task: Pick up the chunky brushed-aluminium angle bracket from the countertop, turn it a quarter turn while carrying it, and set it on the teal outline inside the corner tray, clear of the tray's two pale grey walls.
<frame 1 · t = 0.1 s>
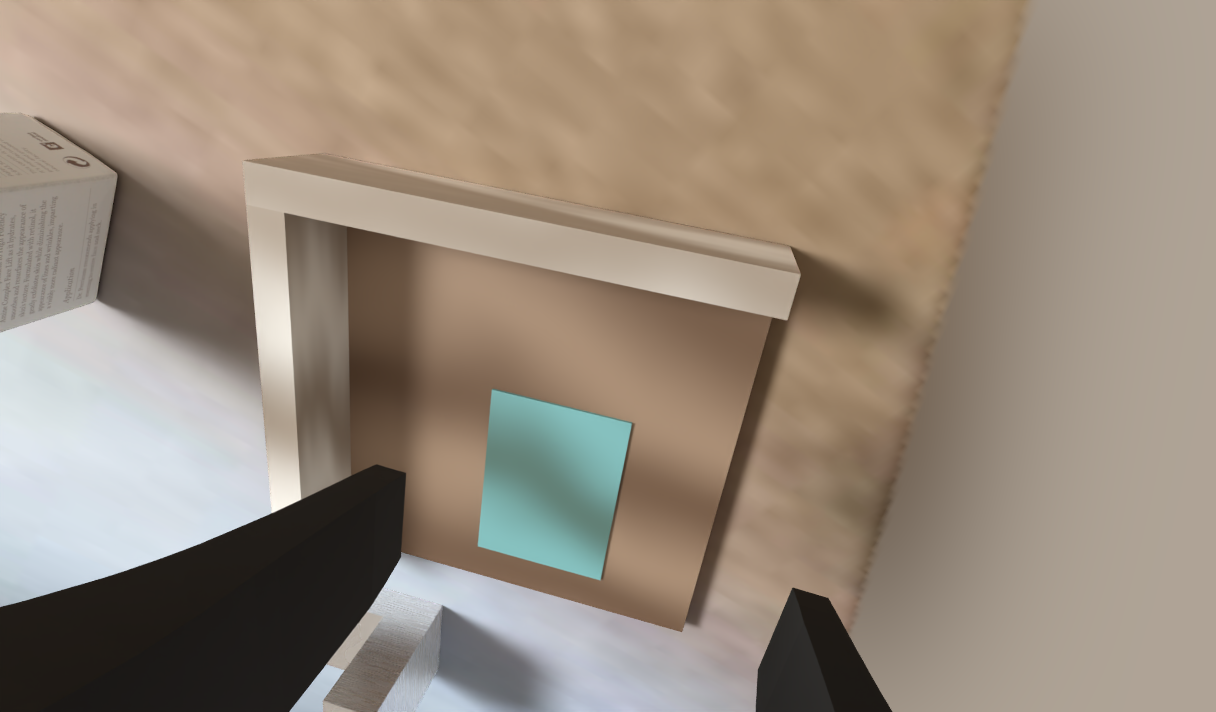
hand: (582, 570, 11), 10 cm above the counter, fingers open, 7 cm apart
corner arena: (534, 427, 22), on the counter
skincare box: (73, 216, 23), on the counter
aluminium bracket: (380, 617, 27), on the counter
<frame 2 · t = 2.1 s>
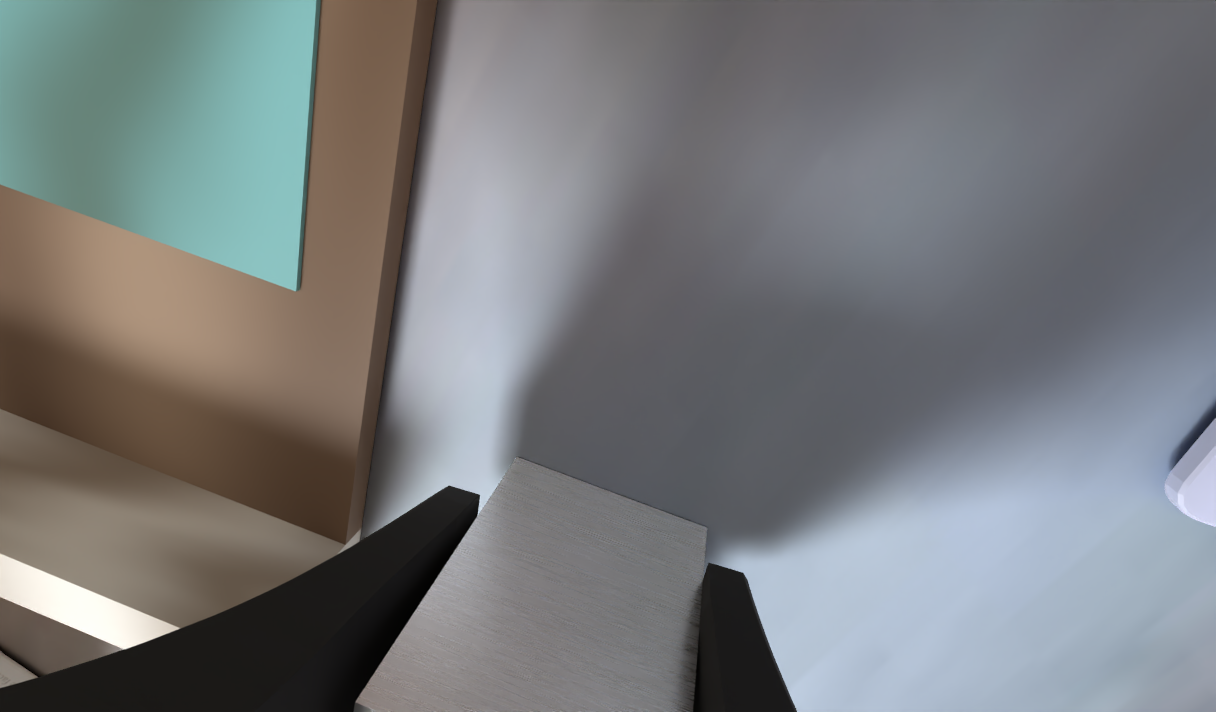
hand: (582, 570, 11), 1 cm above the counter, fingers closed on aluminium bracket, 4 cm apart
corner arena: (60, 111, 11), on the counter
skincare box: (17, 680, 19), on the counter
aluminium bracket: (572, 598, 13), on the counter, touching gripper
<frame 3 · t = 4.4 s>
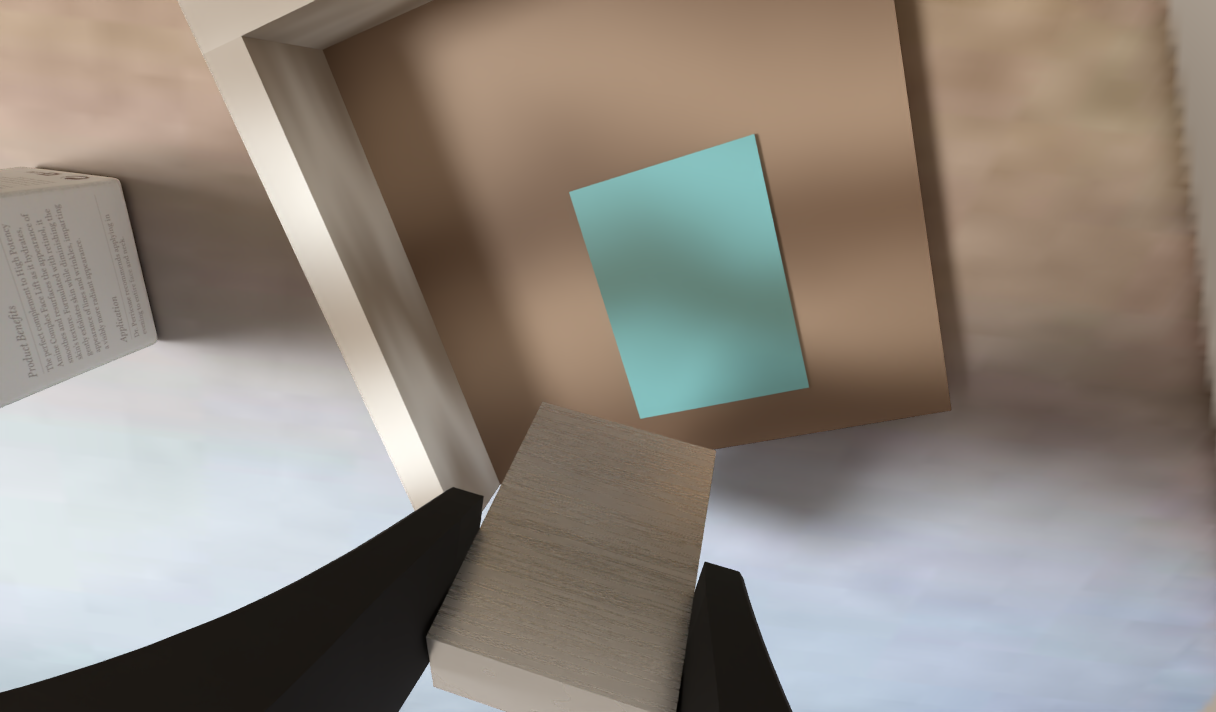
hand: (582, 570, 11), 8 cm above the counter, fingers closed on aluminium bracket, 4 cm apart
corner arena: (640, 226, 17), on the counter
skincare box: (107, 260, 21), on the counter
aluminium bracket: (610, 504, 15), point 4 cm above the counter, tilted 17°, touching gripper
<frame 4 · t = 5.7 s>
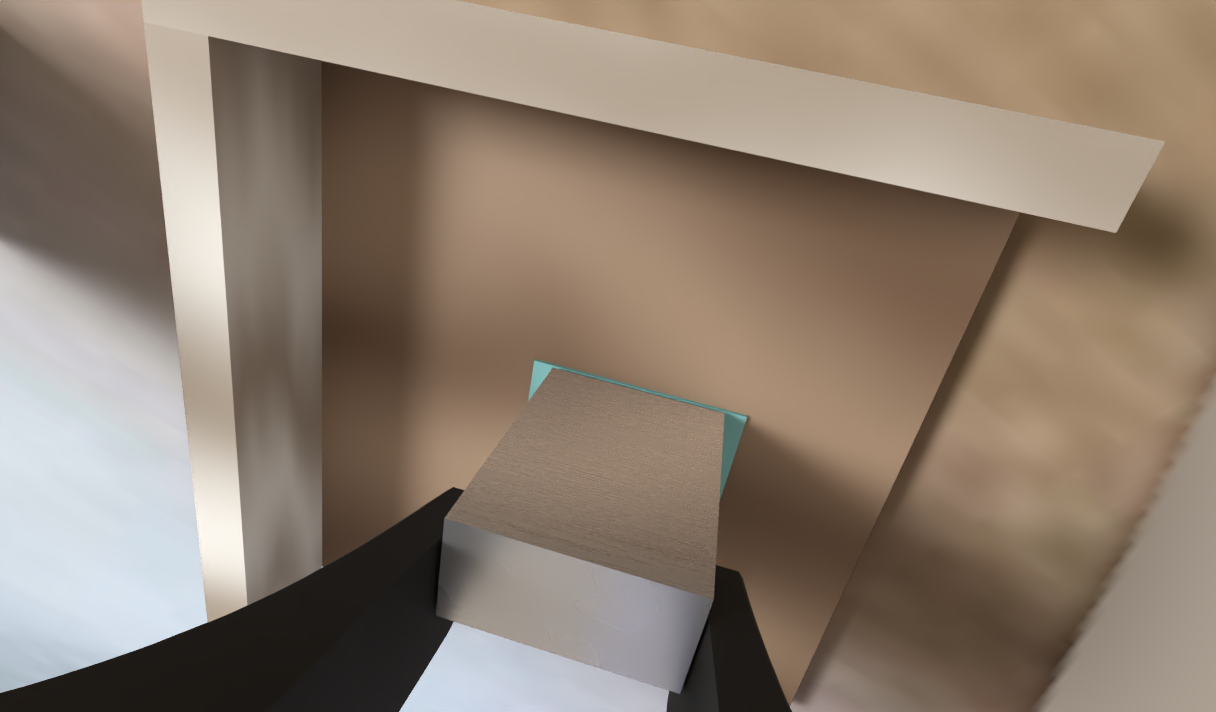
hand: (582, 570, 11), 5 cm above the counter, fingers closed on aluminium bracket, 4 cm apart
corner arena: (591, 419, 15), on the counter
aluminium bracket: (612, 495, 15), point 1 cm above the counter, touching corner arena, gripper
when the fingers open (3 cm above the counter, at t = 6.5 s): aluminium bracket stays where it is, resting on corner arena.
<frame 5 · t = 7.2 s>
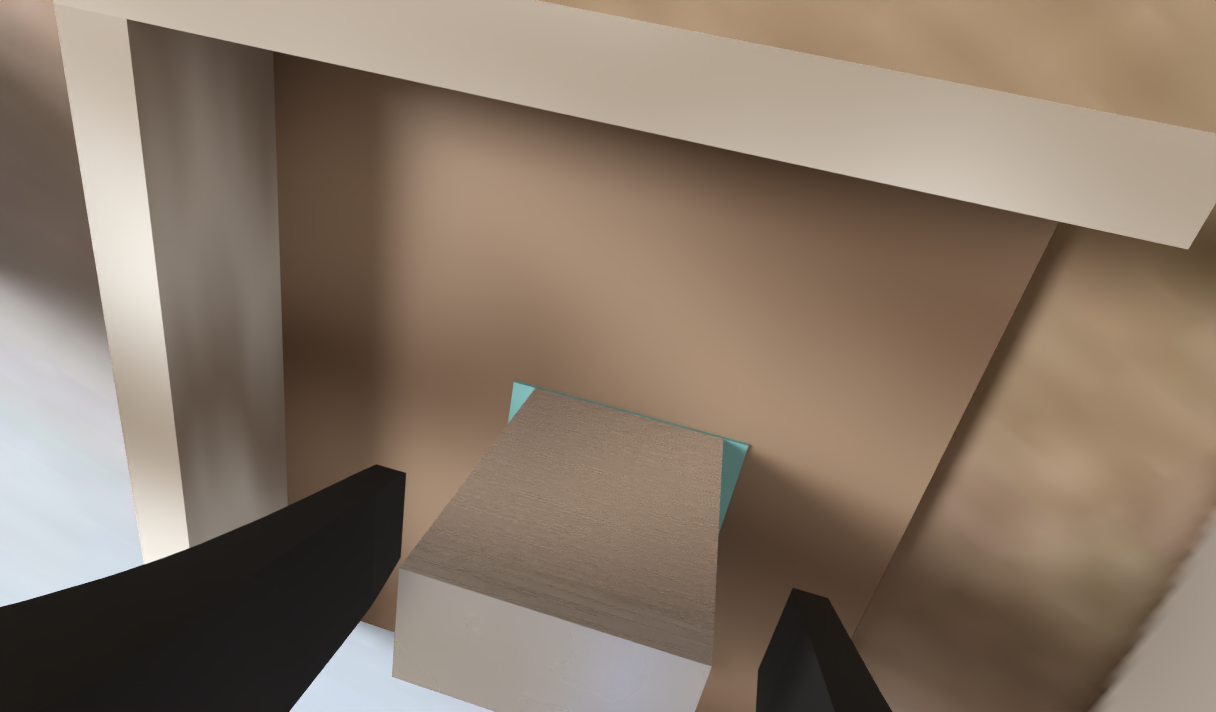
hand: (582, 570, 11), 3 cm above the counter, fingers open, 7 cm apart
corner arena: (578, 444, 14), on the counter
aluminium bracket: (600, 526, 13), point 1 cm above the counter, touching corner arena
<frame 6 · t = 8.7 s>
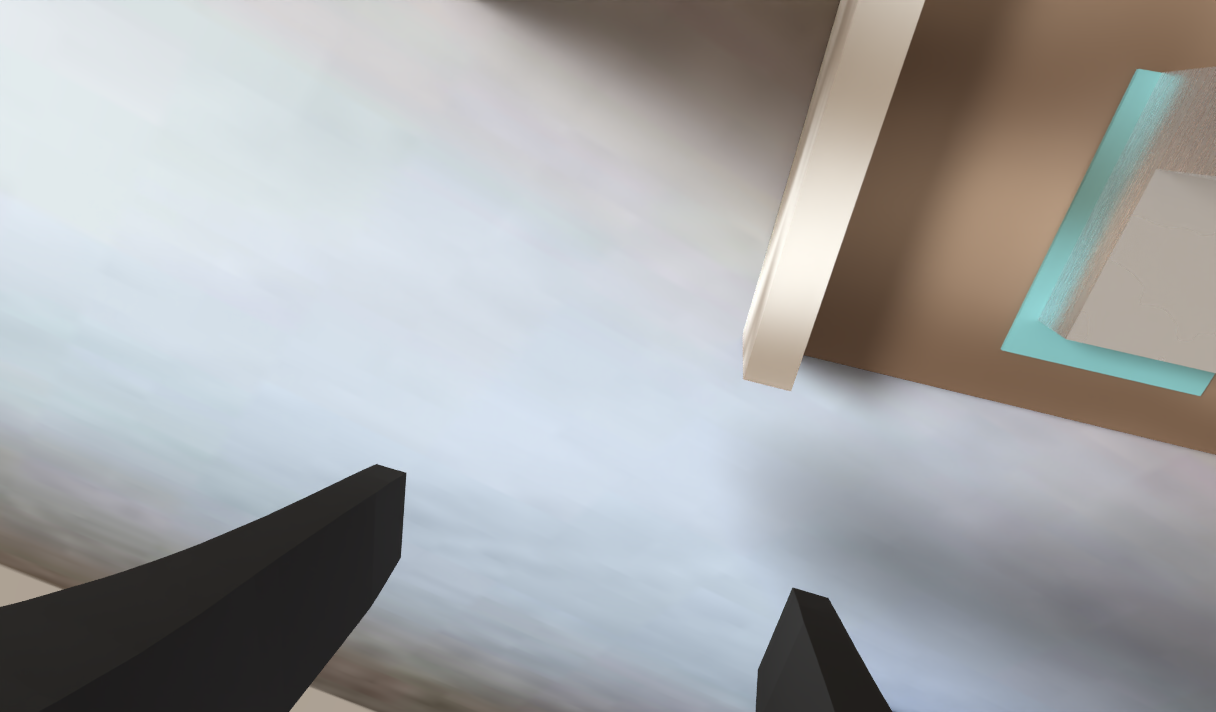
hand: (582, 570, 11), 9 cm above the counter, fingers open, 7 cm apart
corner arena: (1154, 150, 14), on the counter
aluminium bracket: (1183, 224, 14), point 1 cm above the counter, touching corner arena
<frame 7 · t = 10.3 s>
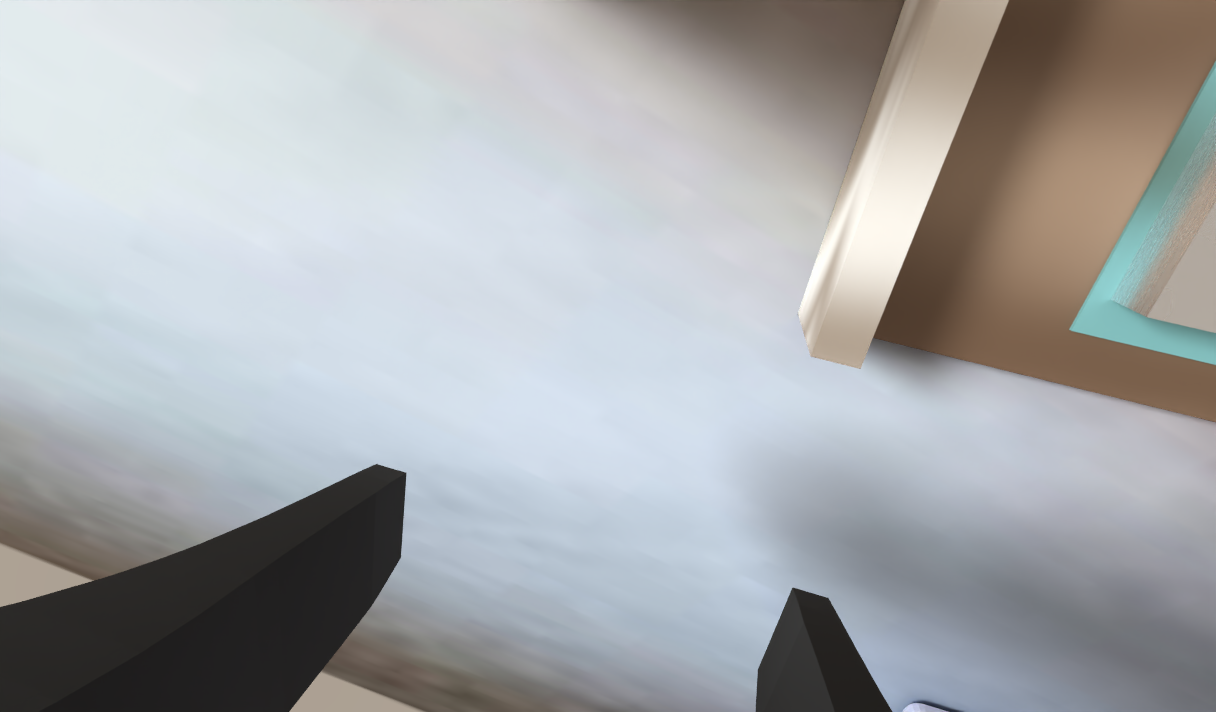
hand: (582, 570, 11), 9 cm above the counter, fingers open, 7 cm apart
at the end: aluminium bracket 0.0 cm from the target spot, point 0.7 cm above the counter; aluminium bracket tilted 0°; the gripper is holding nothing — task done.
